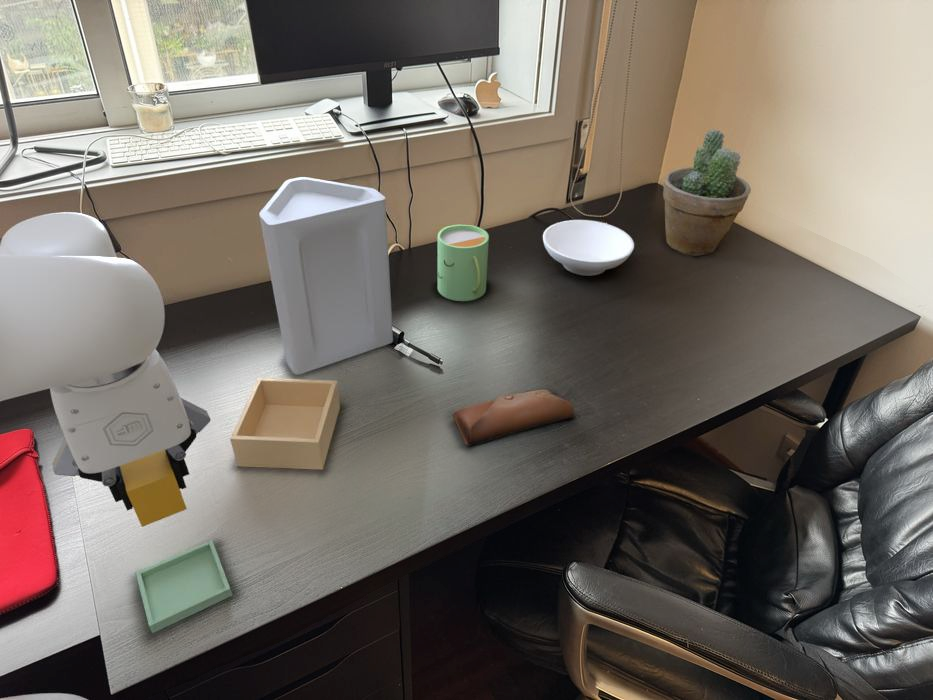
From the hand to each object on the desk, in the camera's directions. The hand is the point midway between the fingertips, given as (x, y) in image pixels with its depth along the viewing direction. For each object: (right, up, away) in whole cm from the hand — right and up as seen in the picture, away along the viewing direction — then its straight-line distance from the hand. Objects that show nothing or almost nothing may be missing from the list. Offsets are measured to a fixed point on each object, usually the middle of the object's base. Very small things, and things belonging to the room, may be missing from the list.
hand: (154, 488), depth 67 cm
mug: (+32, +27, +65) cm, 77 cm away
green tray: (-1, -14, +9) cm, 17 cm away
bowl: (+59, +33, +74) cm, 100 cm away
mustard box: (0, -2, +1) cm, 2 cm away
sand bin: (+6, +2, +30) cm, 31 cm away
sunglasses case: (+40, +4, +34) cm, 53 cm away
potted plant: (+86, +39, +84) cm, 127 cm away
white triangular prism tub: (+8, +17, +51) cm, 54 cm away
